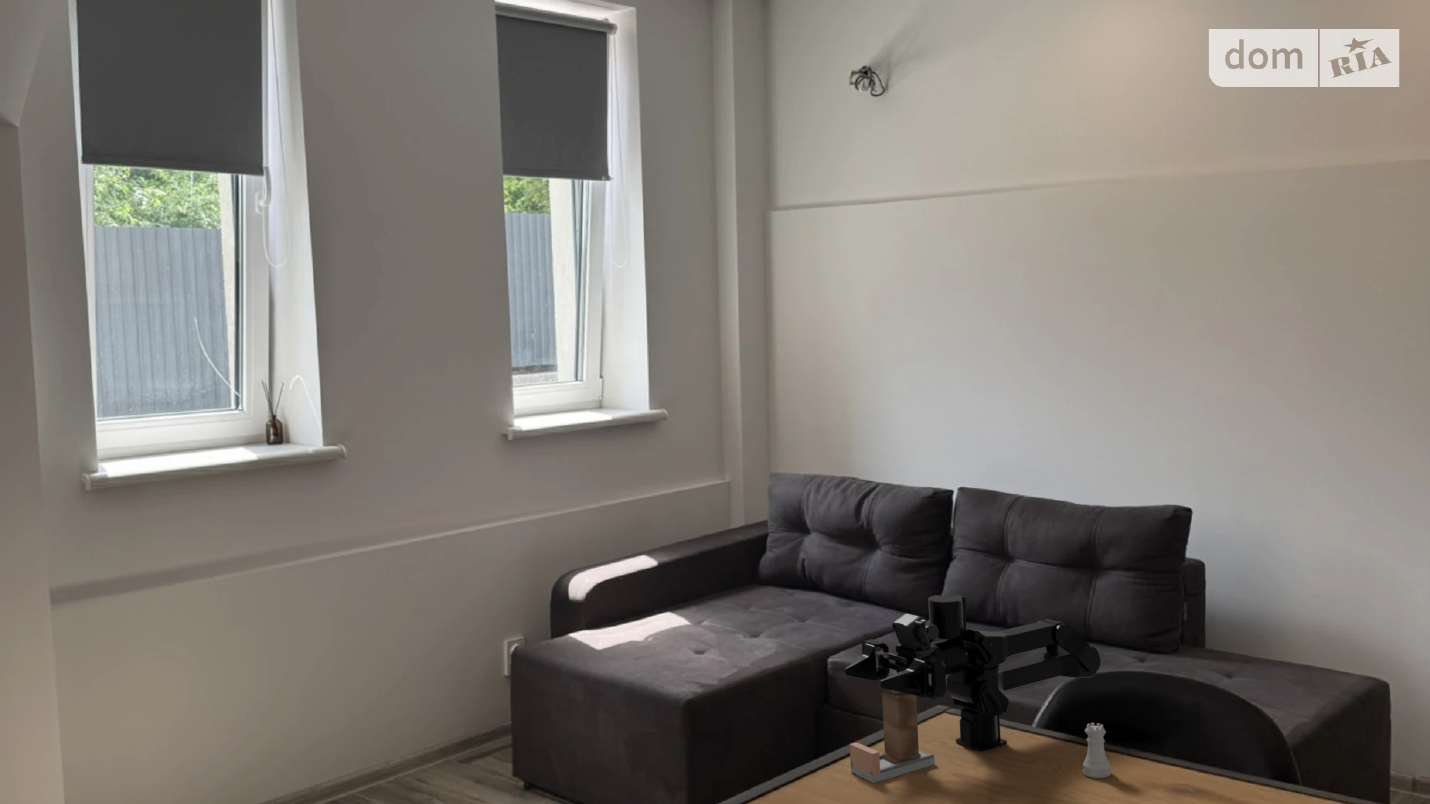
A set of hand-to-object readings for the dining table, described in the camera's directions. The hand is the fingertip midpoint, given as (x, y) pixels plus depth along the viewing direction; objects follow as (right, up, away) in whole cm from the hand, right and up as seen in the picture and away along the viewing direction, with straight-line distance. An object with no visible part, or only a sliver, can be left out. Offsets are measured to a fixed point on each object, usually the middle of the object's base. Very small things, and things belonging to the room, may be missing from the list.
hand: (862, 678), depth 194 cm
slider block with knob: (+7, -15, +5) cm, 17 cm away
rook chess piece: (+37, -15, -3) cm, 40 cm away
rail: (+6, -16, +4) cm, 18 cm away
